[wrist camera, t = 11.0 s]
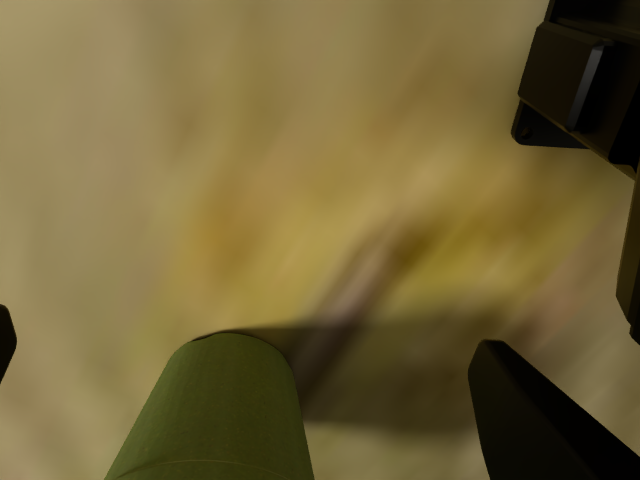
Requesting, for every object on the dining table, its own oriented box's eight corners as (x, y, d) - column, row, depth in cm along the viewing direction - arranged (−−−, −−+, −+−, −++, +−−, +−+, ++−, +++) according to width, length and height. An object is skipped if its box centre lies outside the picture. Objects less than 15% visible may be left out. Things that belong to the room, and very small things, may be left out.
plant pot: (330, 439, 30) (344, 666, 21) (143, 439, 30) (68, 675, 20) (343, 295, 24) (371, 527, 14) (105, 292, 23) (-29, 532, 14)
